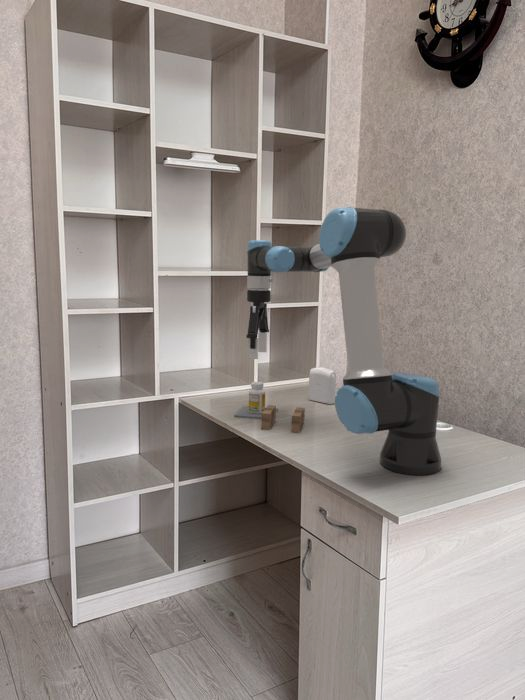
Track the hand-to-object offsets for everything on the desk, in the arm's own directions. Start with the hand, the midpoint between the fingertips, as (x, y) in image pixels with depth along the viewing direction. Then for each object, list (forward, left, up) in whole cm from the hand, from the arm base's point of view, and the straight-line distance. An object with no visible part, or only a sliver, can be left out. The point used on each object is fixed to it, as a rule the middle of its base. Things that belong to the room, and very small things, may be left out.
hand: (257, 355), depth 192 cm
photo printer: (+22, -19, -20) cm, 35 cm away
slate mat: (0, 0, -20) cm, 19 cm away
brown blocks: (-12, -11, -19) cm, 25 cm away
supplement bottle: (0, 0, -19) cm, 19 cm away
